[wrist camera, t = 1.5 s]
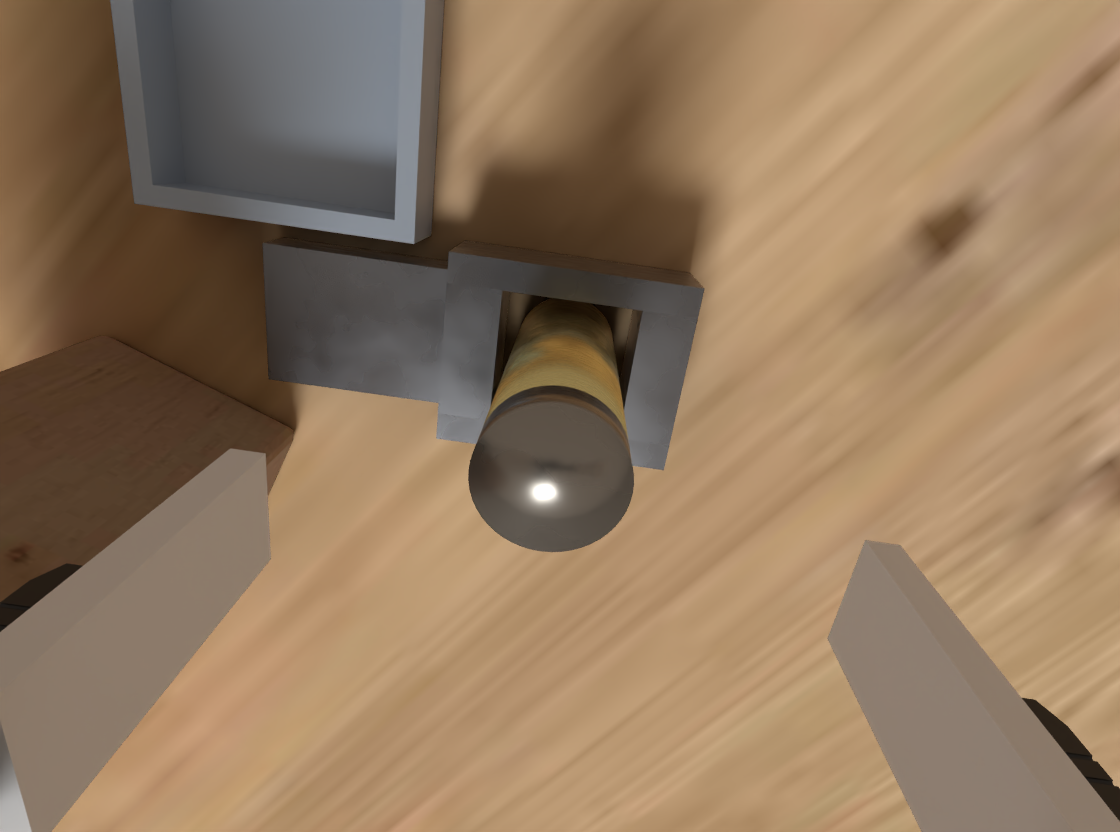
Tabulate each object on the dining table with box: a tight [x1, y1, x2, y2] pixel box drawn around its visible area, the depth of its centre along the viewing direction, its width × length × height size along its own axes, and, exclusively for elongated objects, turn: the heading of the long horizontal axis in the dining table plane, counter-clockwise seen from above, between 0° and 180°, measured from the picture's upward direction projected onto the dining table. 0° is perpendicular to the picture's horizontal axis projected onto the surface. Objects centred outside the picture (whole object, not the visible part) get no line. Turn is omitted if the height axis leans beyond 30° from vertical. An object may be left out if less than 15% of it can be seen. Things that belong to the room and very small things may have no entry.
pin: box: [468, 298, 634, 552], centre depth 23 cm, size 4×4×14 cm
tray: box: [110, 0, 444, 244], centre depth 24 cm, size 11×11×3 cm
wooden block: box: [0, 336, 293, 602], centre depth 23 cm, size 10×10×20 cm
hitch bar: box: [263, 237, 704, 470], centre depth 27 cm, size 18×8×4 cm, turn 82°
